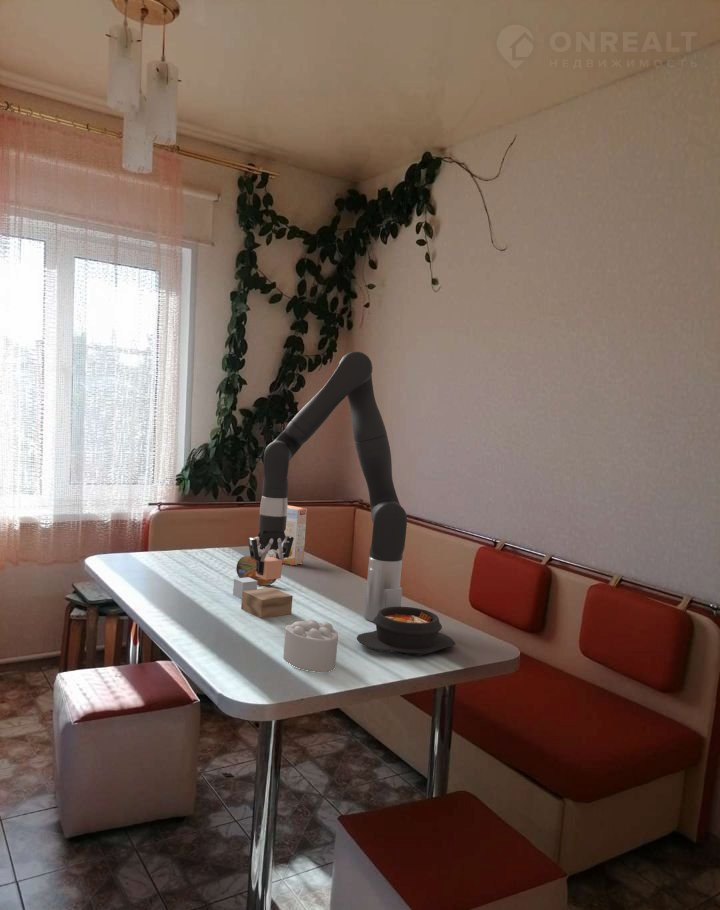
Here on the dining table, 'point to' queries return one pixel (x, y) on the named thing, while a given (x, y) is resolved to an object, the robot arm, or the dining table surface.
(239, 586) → the grey-blue cube
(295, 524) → the cracker box
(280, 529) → the robot arm
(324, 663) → the lumpy-topped squat cylinder
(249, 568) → the tin
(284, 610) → the walnut block
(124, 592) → the dining table surface
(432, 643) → the casserole
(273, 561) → the terracotta cube
